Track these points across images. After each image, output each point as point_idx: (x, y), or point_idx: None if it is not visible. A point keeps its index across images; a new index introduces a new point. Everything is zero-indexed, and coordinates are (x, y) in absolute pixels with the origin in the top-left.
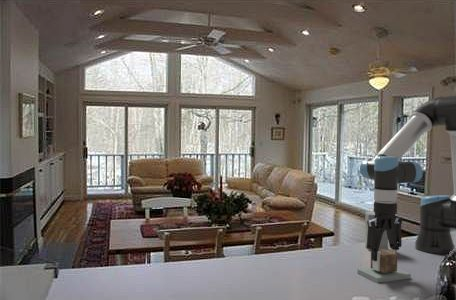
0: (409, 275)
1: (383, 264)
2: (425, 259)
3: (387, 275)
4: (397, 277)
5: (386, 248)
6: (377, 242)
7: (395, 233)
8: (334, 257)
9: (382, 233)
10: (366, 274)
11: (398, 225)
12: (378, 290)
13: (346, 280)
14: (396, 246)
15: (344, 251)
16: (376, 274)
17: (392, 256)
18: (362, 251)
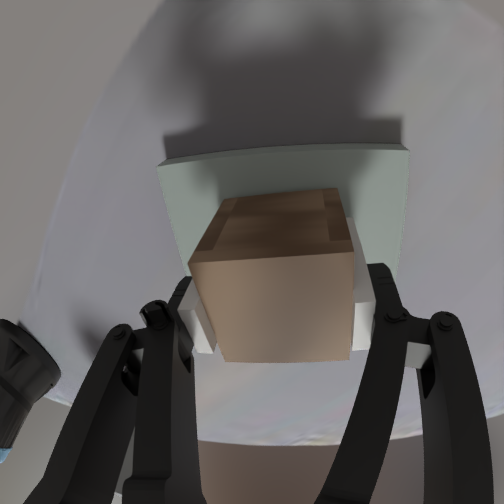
0: (167, 163)
1: (343, 213)
2: (49, 316)
3: (315, 170)
4: (254, 151)
5: None
6: (401, 381)
7: (115, 436)
8: (323, 409)
9: (333, 483)
10: (400, 233)
11: (65, 494)
12: (460, 57)
13: (492, 223)
14: (155, 332)
15: (253, 426)
16: (367, 204)
17: (247, 248)
18: (199, 413)
